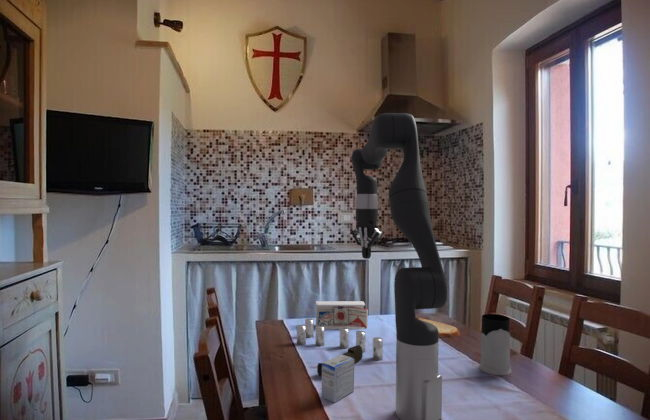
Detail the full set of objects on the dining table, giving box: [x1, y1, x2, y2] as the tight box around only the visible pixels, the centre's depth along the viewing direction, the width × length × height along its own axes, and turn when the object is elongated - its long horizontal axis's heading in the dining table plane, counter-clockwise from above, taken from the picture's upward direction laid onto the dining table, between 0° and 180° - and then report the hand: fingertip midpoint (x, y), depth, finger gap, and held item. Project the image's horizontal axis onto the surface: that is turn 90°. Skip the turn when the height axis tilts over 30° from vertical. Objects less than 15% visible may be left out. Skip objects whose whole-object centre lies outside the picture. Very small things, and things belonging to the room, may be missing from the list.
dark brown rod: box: [316, 345, 364, 378], centre depth 119 cm, size 19×4×5 cm, turn 137°
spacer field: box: [296, 318, 384, 361], centre depth 135 cm, size 33×13×6 cm, turn 43°
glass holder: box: [478, 313, 512, 376], centre depth 121 cm, size 9×14×15 cm, turn 178°
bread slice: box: [416, 316, 461, 338], centre depth 155 cm, size 18×18×4 cm
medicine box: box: [321, 354, 355, 403], centre depth 102 cm, size 8×4×9 cm, turn 141°
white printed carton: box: [315, 300, 369, 330], centre depth 159 cm, size 20×6×9 cm, turn 91°
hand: (366, 258), depth 140 cm, fingers closed
